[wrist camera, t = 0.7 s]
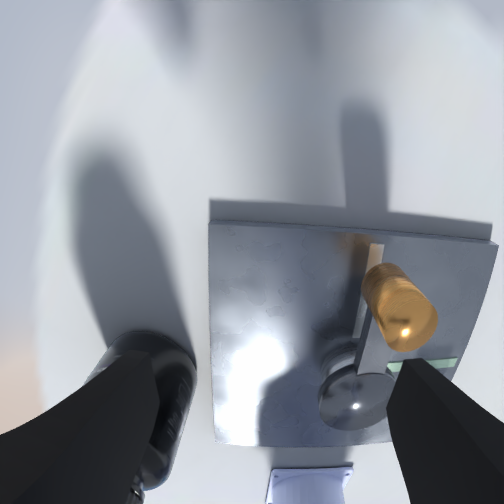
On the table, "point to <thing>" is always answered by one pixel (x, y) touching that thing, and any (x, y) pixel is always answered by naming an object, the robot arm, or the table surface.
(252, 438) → the base
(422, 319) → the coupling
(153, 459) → the supplement bottle
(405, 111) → the table surface
